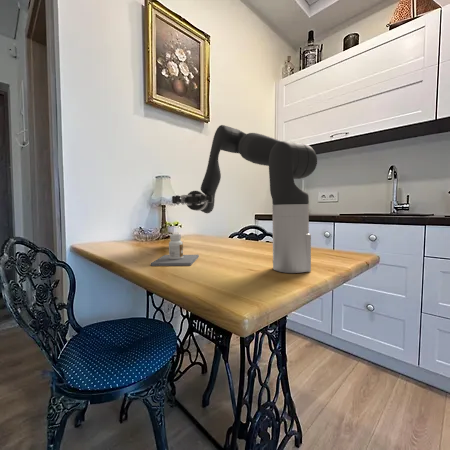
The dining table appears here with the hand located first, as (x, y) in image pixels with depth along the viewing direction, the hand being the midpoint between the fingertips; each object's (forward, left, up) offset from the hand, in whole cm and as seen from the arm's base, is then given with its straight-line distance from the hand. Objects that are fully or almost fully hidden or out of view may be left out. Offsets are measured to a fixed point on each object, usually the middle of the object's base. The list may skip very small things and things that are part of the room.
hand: (189, 198), depth 86 cm
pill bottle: (+4, +5, -20) cm, 21 cm away
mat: (+4, +5, -20) cm, 21 cm away
